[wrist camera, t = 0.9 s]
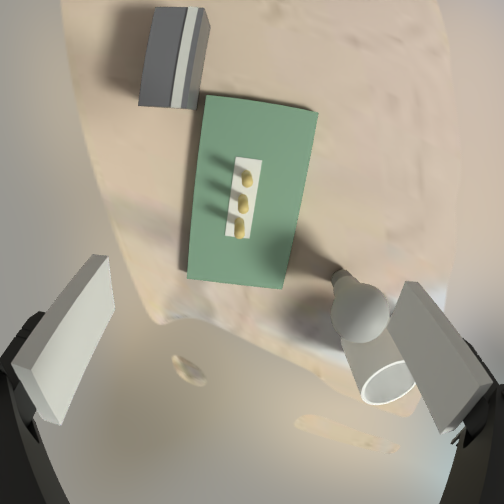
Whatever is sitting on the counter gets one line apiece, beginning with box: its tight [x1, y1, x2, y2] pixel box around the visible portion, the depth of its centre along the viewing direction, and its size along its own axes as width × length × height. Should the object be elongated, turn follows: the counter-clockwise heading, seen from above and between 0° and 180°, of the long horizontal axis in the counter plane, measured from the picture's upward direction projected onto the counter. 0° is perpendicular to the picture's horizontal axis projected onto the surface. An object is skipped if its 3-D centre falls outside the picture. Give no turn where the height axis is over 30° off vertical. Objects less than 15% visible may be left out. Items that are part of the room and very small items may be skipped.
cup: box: [341, 316, 416, 405], centre depth 37 cm, size 8×12×10 cm
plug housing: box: [138, 7, 210, 110], centre depth 24 cm, size 9×4×6 cm, turn 171°
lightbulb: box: [331, 270, 389, 343], centre depth 32 cm, size 6×6×11 cm
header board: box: [187, 95, 318, 289], centre depth 31 cm, size 20×11×5 cm, turn 171°
